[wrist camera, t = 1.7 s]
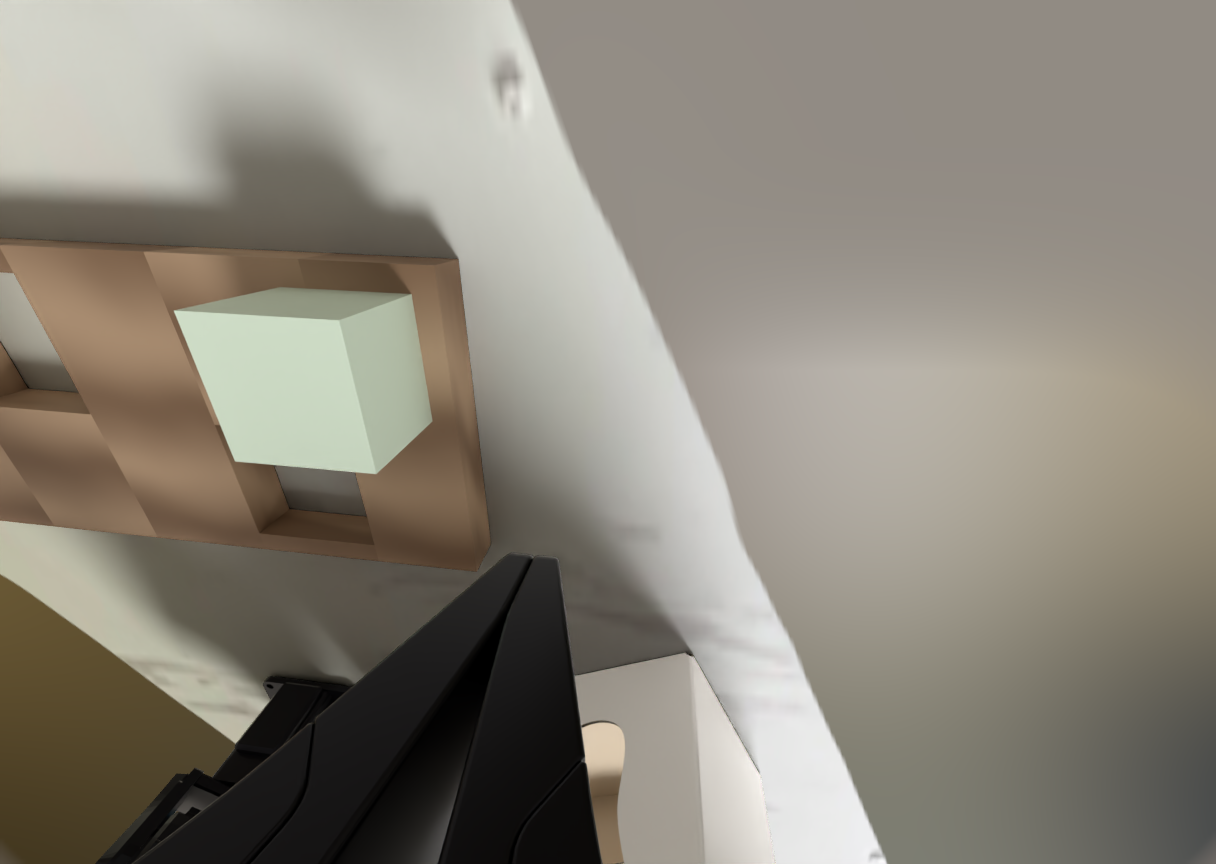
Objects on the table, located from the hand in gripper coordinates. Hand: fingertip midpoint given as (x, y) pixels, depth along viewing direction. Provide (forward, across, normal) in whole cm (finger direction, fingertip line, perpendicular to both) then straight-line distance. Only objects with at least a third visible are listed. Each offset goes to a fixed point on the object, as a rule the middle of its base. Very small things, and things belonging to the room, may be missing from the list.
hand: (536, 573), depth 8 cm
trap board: (+12, +22, +4) cm, 25 cm away
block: (+10, +10, 0) cm, 14 cm away
